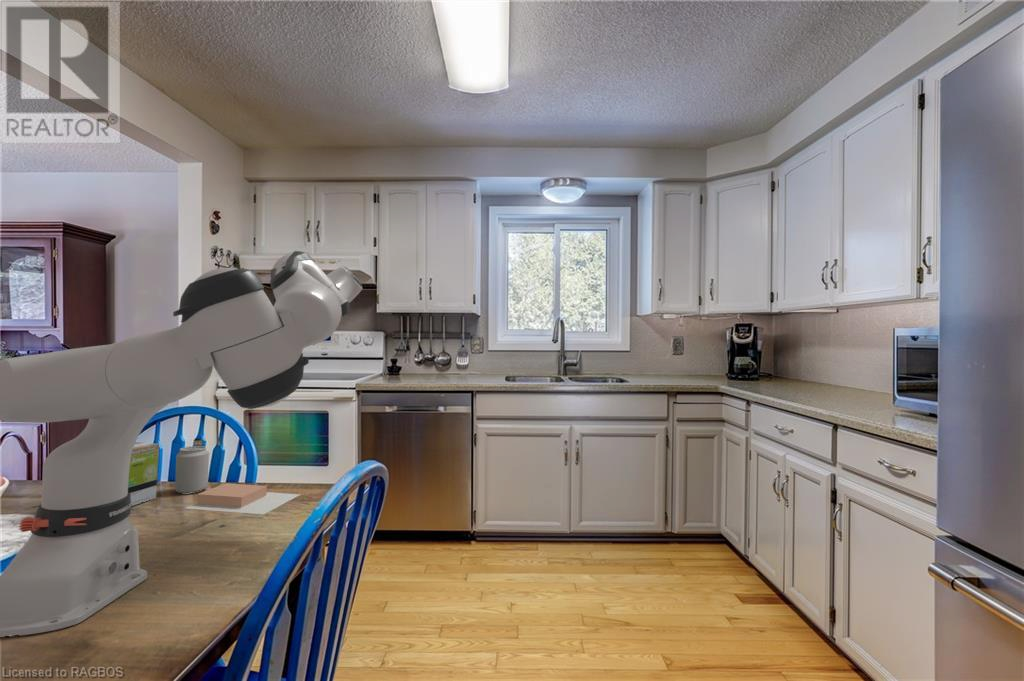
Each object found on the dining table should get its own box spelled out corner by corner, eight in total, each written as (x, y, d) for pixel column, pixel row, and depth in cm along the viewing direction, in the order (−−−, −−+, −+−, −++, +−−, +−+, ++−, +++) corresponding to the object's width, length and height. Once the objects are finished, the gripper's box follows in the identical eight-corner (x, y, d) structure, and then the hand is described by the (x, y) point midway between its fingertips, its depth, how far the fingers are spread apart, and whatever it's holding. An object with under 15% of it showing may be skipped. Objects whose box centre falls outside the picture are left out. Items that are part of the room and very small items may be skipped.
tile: (241, 497, 120) (197, 494, 121) (241, 508, 120) (197, 504, 121) (266, 486, 130) (225, 483, 131) (266, 495, 130) (225, 493, 131)
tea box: (100, 518, 112) (103, 454, 112) (64, 514, 113) (67, 451, 113) (158, 498, 126) (160, 442, 127) (125, 495, 128) (127, 439, 128)
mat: (263, 516, 116) (263, 514, 116) (183, 510, 118) (184, 508, 118) (300, 496, 132) (300, 494, 132) (229, 491, 134) (229, 489, 134)
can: (195, 495, 130) (197, 450, 130) (168, 494, 130) (169, 449, 130) (213, 487, 137) (215, 445, 137) (187, 486, 137) (189, 444, 137)
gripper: (314, 342, 114) (269, 378, 115) (316, 307, 131) (278, 338, 132) (293, 325, 111) (247, 361, 112) (298, 291, 128) (259, 323, 129)
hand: (264, 348), depth 122 cm, fingers closed
